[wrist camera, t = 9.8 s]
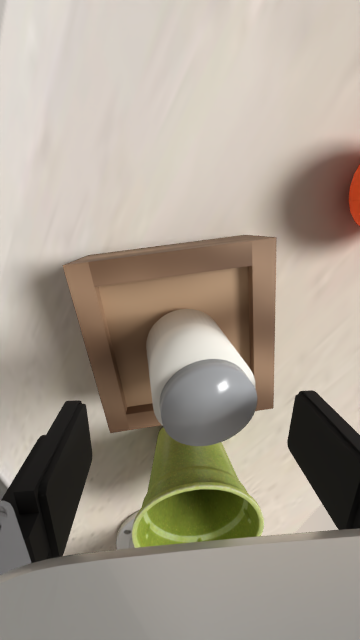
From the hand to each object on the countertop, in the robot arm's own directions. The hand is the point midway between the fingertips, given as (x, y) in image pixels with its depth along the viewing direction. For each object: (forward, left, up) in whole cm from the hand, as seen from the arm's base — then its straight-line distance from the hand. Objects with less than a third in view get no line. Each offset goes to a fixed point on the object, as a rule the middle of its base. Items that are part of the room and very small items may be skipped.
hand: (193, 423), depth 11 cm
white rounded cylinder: (+1, 0, -6) cm, 6 cm away
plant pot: (-12, -1, -11) cm, 17 cm away
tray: (+1, 0, -11) cm, 11 cm away
